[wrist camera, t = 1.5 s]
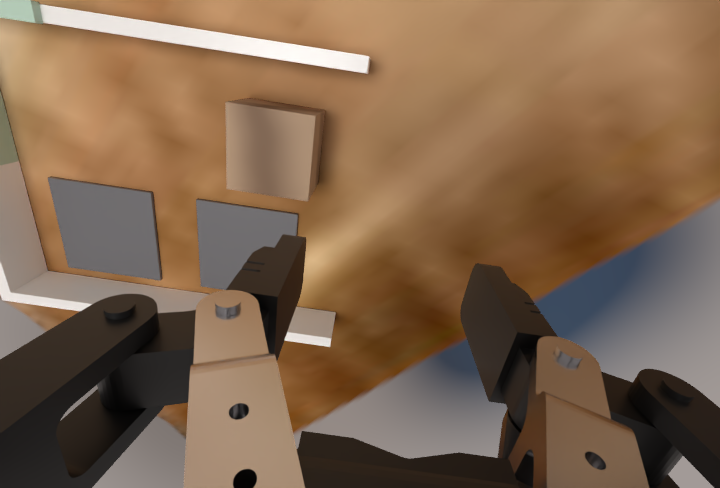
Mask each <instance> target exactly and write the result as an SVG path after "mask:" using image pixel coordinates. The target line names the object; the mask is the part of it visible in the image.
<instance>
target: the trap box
mask: <svg viewBox="0 0 720 488" xmlns="http://www.w3.org/2000/svg"><path fill="white" fill-rule="evenodd" d="M0 18H6V19H13V20H19V21H25V22H32V23H38V24H43V23H46V24H53V25H59V26H65V27H72V28H78V29H84V30H91V31H97V32H103V33H110V34H116V35H123V36H129V37H135V38H142V39H148V40H154V41H161V42H167V43H174V44H180V45H186V46H193V47H199V48H205V49H212V50H218V51H224V52H231V53H237V54H244V55H250V56H256V57H263V58H269V59H275V60H282V61H288V62H295V63H301V64H307V65H314V66H320V67H326V68H333V69H339V70H345V71H352V72H358V73H365V74H369V66H370V57H369V56H364V55H358V54H352V53H345V52H339V51H333V50H326V49H320V48H314V47H307V46H301V45H295V44H288V43H282V42H276V41H269V40H263V39H257V38H250V37H244V36H238V35H231V34H225V33H219V32H212V31H206V30H200V29H193V28H187V27H181V26H174V25H168V24H162V23H155V22H149V21H143V20H137V19H130V18H124V17H118V16H111V15H105V14H99V13H92V12H86V11H80V10H73V9H67V8H61V7H54V6H48V5H42V4H39V2H36V1H31V0H0ZM48 181H49V185H50V190H51V194H52V198H53V202H54V207H55V211H56V215H57V220H58V224H59V228H60V232H61V237H62V241H63V245H64V250H65V254H66V258H67V262H68V267H71V268H78V269H85V270H92V271H99V272H106V273H113V274H120V275H127V276H134V277H140V278H147V279H154V280H161V279H162V273H161V264H160V255H159V246H158V236H157V227H156V218H155V209H154V199H153V192H150V191H143V190H136V189H129V188H123V187H116V186H109V185H103V184H96V183H89V182H83V181H76V180H69V179H63V178H56V177H48ZM196 206H197V224H198V242H199V260H200V278H201V286H203V287H210V288H216V289H223V290H226V289H227V287H228V286H229V285H230V283H231V282H232V280H233V279H234V278H235V276H236V275H237V274H238V272H239V271H240V269H242V267H243V265H244V264H245V262H247V260H248V258H249V257H250V255H251V254H252V253H253V252H254V251H256V250H258V249H260V248H262V247H264V246H267V247H274V248H275V246H276V244H277V243H278V241H279V240H280V238H281V236H282V235H283V234H286V235H293V236H297V225H298V214H297V213H290V212H284V211H277V210H270V209H263V208H257V207H250V206H243V205H237V204H230V203H223V202H217V201H210V200H203V199H197V200H196ZM120 294H142V295H146V296H149V297H151V298H152V299H154V300H155V302H156V303H157V308H158V313H167V312H184V311H192V310H196V306H197V304H198V302H199V301H200V300H201V299H203V298H204V297H205V296H207V295H209V294H205V293H199V292H192V291H185V290H178V289H171V288H164V287H157V286H150V285H143V284H136V283H129V282H122V281H116V280H109V279H102V278H95V277H88V276H81V275H74V274H67V273H60V272H53V271H48V269H47V266H46V262H45V258H44V254H43V250H42V247H41V243H40V239H39V235H38V231H37V228H36V224H35V220H34V216H33V212H32V209H31V205H30V201H29V197H28V193H27V190H26V186H25V182H24V178H23V174H22V171H21V167H20V163H19V159H18V155H17V152H16V148H15V144H14V140H13V136H12V133H11V129H10V125H9V121H8V117H7V114H6V110H5V106H4V102H3V98H2V94H1V91H0V295H1V298H2V300H5V301H12V302H19V303H26V304H33V305H40V306H47V307H54V308H61V309H68V310H75V311H82V310H84V309H85V308H87V307H89V306H90V305H92V304H94V303H95V302H97V301H100V300H102V299H104V298H107V297H111V296H115V295H120ZM335 314H336V312H330V311H323V310H316V309H309V308H302V307H296V309H295V312H294V314H293V317H292V320H291V323H290V326H289V329H288V331H287V334H286V337H285V341H292V342H299V343H306V344H313V345H320V346H327V347H330V343H331V338H332V332H333V327H334V321H335Z"/></svg>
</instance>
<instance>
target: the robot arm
mask: <svg viewBox="0 0 720 488" xmlns="http://www.w3.org/2000/svg"><path fill="white" fill-rule="evenodd" d="M305 251H306V237H299V236H293V235H286V234H283V235H282V236H281V238H280V240H279V241H278V243H277V244H276V246H275V248H274V247H267V246H264V247H262V248H260V249H258V250H256V251H254V252H253V253H252V254H251V255H250V257H249V258H248V260H247V262H245V264H244V265H243V267H242V269H240V271H239V272H238V274H237V275H236V276H235V278H234V279H233V280H232V282H231V283H230V285H229V286H228V287H227V289H226V290H224V291H218V292H215V293H212V294H209V295H207V296H205V297H204V298H203V299H201V300H200V301H199V302H198V304H197V306H196V310H192V311H184V312H167V313H158V308H157V303H156V302H155V300H154V299H152V298H151V297H149V296H146V295H142V294H120V295H115V296H111V297H107V298H104V299H102V300H100V301H97V302H95V303H94V304H92V305H90V306H89V307H87V308H85V309H84V310H82V311H80V312H79V313H77V314H75V315H74V316H72V317H70V318H69V319H67V320H65V321H64V322H62V323H60V324H59V325H57V326H55V327H54V328H52V329H50V330H49V331H47V332H45V333H44V334H42V335H41V336H39V337H37V338H35V339H34V340H32V341H30V342H29V343H27V344H26V345H24V346H22V347H21V348H19V349H17V350H15V351H14V352H12V353H10V354H9V355H7V356H5V357H4V358H2V359H0V488H92V487H93V486H94V485H95V483H96V482H97V481H98V480H99V479H100V478H101V477H102V476H103V475H104V474H105V472H106V471H107V470H108V469H109V468H110V467H111V466H112V465H113V464H114V462H115V461H116V460H117V459H118V458H119V457H120V456H121V454H122V453H123V452H124V451H125V450H126V449H127V448H128V447H129V446H130V445H131V443H132V442H133V441H134V440H135V439H136V438H137V437H138V436H139V434H140V433H141V432H142V431H143V430H144V429H145V428H146V427H147V426H148V424H149V423H150V422H151V421H152V420H153V419H154V418H155V417H156V416H157V414H158V413H159V412H160V411H161V410H162V409H163V407H164V406H165V405H172V404H180V403H187V402H188V417H187V436H186V454H185V473H184V488H679V487H678V485H677V484H676V483H675V482H674V481H673V480H672V479H671V478H670V476H669V475H668V473H669V472H670V471H671V470H672V469H673V467H674V466H675V465H676V463H677V462H678V461H679V460H680V459H681V457H682V456H684V457H685V458H686V459H687V460H688V461H689V462H690V463H691V464H692V465H693V466H694V467H695V468H696V469H697V470H698V471H699V472H700V473H701V474H702V475H703V476H704V477H705V478H706V480H707V481H708V482H709V483H710V484H711V485H712V486H713V487H714V488H720V408H719V407H718V406H716V404H714V403H713V402H712V401H711V400H709V399H708V398H707V397H706V396H705V395H703V394H702V393H701V392H700V391H698V390H697V389H696V388H694V387H693V386H691V385H690V384H688V383H687V382H685V381H683V380H681V379H679V378H677V377H675V376H673V375H671V374H668V373H666V372H663V371H659V370H654V369H644V370H641V371H640V372H639V374H638V375H637V377H636V378H635V380H634V382H633V383H632V382H629V381H627V380H624V379H621V378H617V377H615V376H612V375H609V374H606V373H603V372H601V369H600V366H599V363H598V362H597V360H596V359H595V358H594V357H593V356H592V355H591V354H590V353H589V352H588V351H587V350H585V349H584V348H582V347H581V346H579V345H577V344H575V343H573V342H571V341H569V340H566V339H563V338H560V337H558V336H557V335H556V333H555V332H554V331H553V329H552V328H551V326H550V325H549V323H548V322H547V321H546V319H545V318H544V316H543V315H542V314H540V311H539V309H538V308H537V306H536V305H534V304H535V303H534V302H533V301H532V299H531V298H530V296H529V295H528V293H526V292H525V291H524V290H523V289H521V288H520V287H519V286H517V285H516V284H514V283H511V281H510V280H509V278H508V277H507V275H506V274H505V272H504V271H503V269H502V268H501V267H499V266H492V265H485V264H479V263H477V264H476V265H475V266H474V268H473V270H472V273H471V276H470V279H469V283H468V286H467V289H466V292H465V295H464V298H463V301H462V305H461V322H462V325H463V328H464V331H465V334H466V337H467V340H468V343H469V345H470V348H471V351H472V354H473V357H474V360H475V363H476V365H477V369H478V371H479V374H480V377H481V380H482V383H483V386H484V389H485V392H486V395H487V397H488V400H489V401H491V402H497V403H504V404H506V405H507V408H508V409H507V411H506V413H505V415H504V418H503V421H502V428H501V436H500V443H499V451H498V458H494V457H486V456H479V455H472V454H465V453H453V454H445V455H438V456H429V457H421V458H414V459H407V458H403V457H400V456H398V455H395V454H393V453H390V452H387V451H385V450H382V449H380V448H377V447H375V446H372V445H370V444H367V443H364V442H362V441H359V440H357V439H354V438H349V437H340V436H334V435H326V434H320V433H312V432H305V431H302V433H301V438H300V443H299V447H298V449H296V445H295V441H294V436H293V432H292V427H291V423H290V418H289V414H288V409H287V405H286V400H285V396H284V392H283V387H282V383H281V378H280V374H279V369H278V365H277V360H278V357H279V354H280V351H281V348H282V345H283V343H284V340H285V337H286V334H287V331H288V329H289V326H290V323H291V320H292V317H293V314H294V312H295V309H296V306H297V303H298V300H299V298H300V294H301V289H302V283H303V273H304V262H305ZM96 385H97V387H98V389H97V390H96V391H95V392H94V393H93V394H92V395H90V396H89V397H88V398H87V399H86V400H84V401H83V402H82V403H81V404H80V405H79V406H77V407H76V408H75V409H74V410H73V411H72V412H70V413H69V414H68V415H67V416H66V417H65V418H63V419H62V420H61V418H62V416H63V415H64V414H65V412H66V411H67V410H68V409H69V408H70V407H71V406H72V405H73V404H74V403H75V402H76V401H78V400H79V399H80V398H81V397H83V396H84V395H85V394H86V393H87V392H88V391H90V390H91V389H92V388H93V387H94V386H96ZM60 420H61V421H60Z"/></svg>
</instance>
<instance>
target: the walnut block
mask: <svg viewBox="0 0 720 488" xmlns="http://www.w3.org/2000/svg"><path fill="white" fill-rule="evenodd" d="M324 118H325V110H321V109H315V108H309V107H303V106H296V105H290V104H284V103H277V102H271V101H265V100H259V99H252V98H247V99H240V100H234V101H228V102H226V170H227V189H230V190H237V191H244V192H250V193H257V194H263V195H270V196H276V197H283V198H289V199H296V200H302V201H309V199H310V197H311V195H312V193H313V192H314V190H315V188H316V186H317V185H318V179H319V169H320V159H321V148H322V138H323V128H324Z"/></svg>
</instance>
